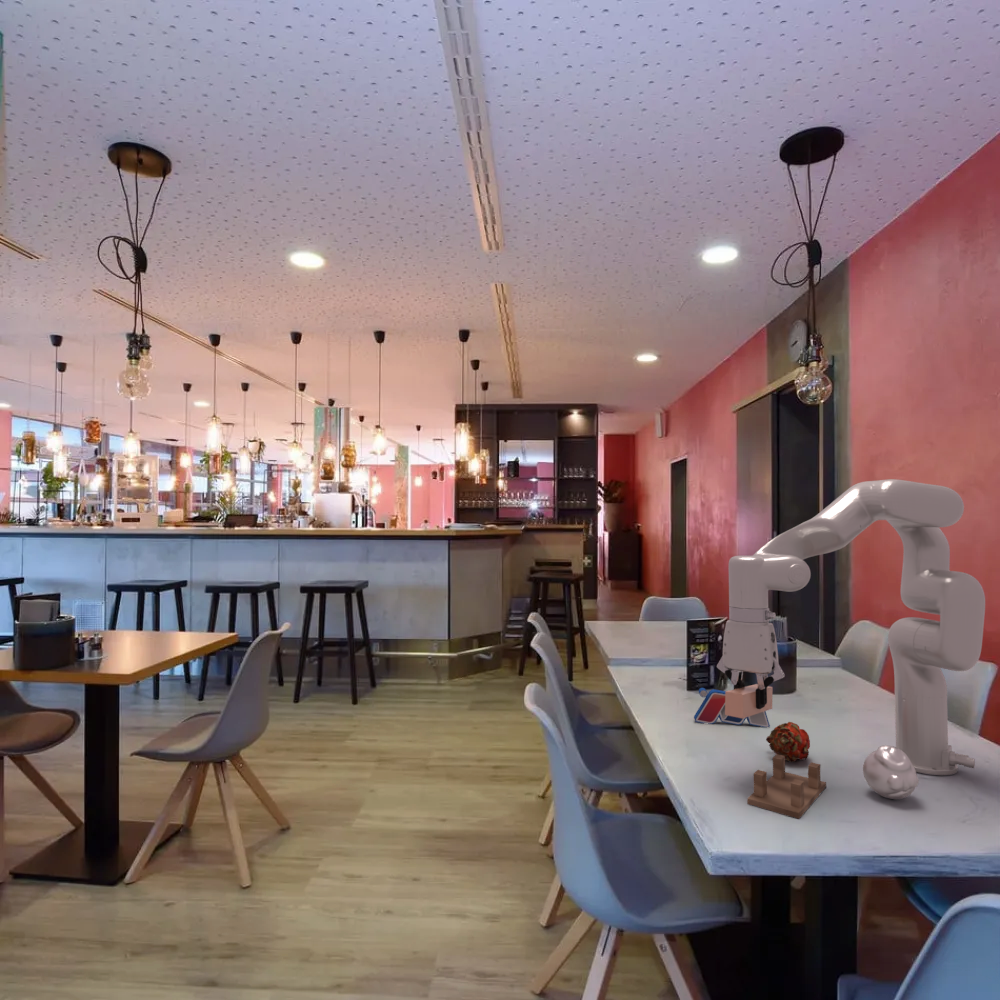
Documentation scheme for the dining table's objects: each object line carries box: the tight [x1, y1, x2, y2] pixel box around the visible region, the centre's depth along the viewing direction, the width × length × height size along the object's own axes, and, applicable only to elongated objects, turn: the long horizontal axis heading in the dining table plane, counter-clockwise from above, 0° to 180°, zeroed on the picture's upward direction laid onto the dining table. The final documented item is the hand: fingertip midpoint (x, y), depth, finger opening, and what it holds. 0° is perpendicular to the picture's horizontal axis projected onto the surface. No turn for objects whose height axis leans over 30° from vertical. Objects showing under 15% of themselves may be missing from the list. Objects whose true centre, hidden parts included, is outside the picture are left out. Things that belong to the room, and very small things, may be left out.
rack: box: [746, 753, 827, 820], centre depth 120 cm, size 18×9×5 cm, turn 139°
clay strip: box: [725, 683, 774, 719], centre depth 128 cm, size 16×4×4 cm, turn 137°
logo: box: [693, 687, 771, 728], centre depth 163 cm, size 18×2×10 cm, turn 79°
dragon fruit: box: [765, 721, 811, 763], centre depth 139 cm, size 8×8×12 cm
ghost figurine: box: [862, 744, 920, 800], centre depth 119 cm, size 9×10×10 cm
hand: (750, 704), depth 128 cm, fingers closed on clay strip, 3 cm apart
